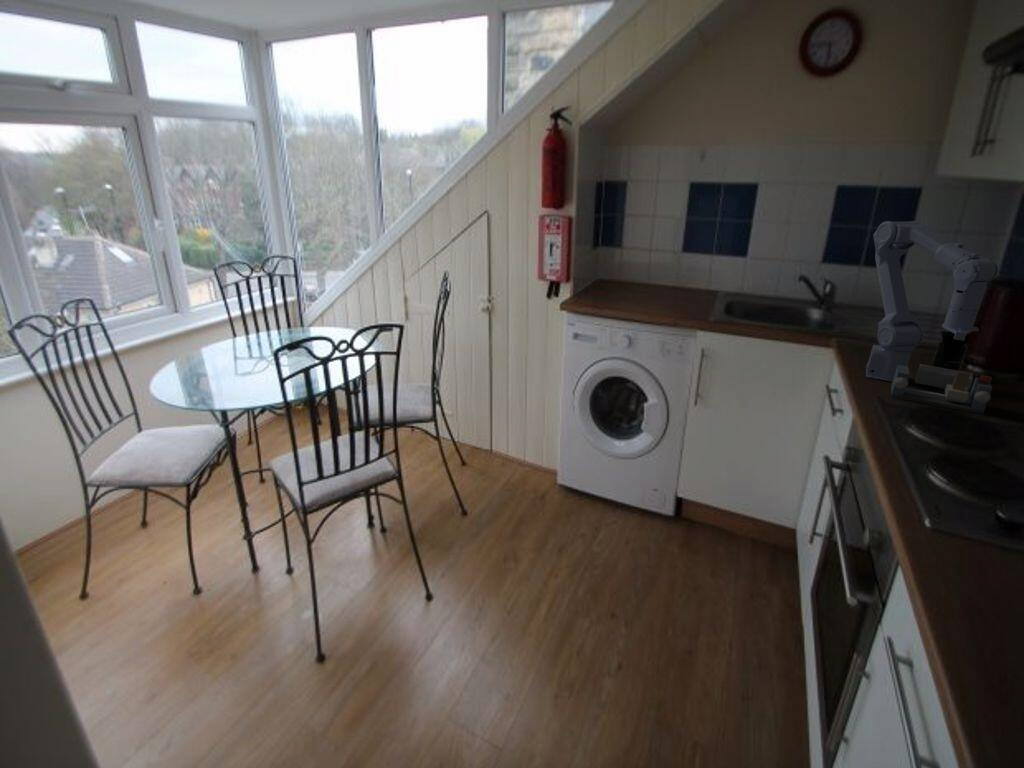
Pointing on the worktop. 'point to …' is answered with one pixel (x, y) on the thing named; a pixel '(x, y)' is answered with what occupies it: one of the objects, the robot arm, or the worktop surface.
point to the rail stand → (973, 403)
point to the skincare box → (938, 376)
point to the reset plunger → (985, 379)
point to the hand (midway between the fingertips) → (946, 360)
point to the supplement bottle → (945, 364)
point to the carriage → (958, 387)
